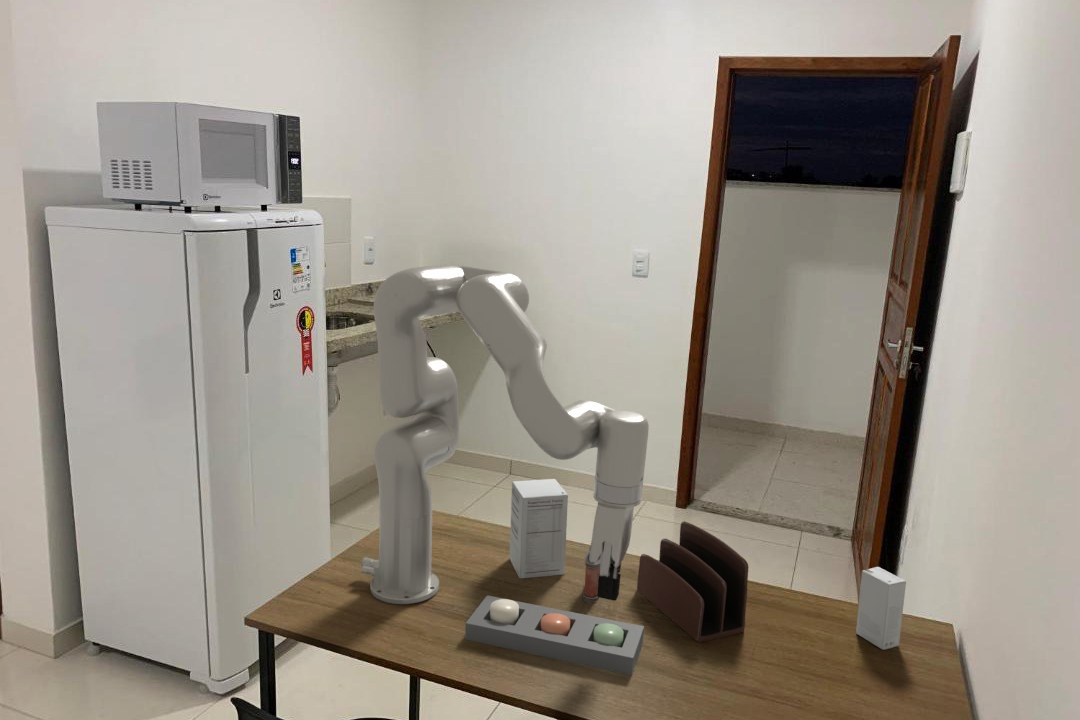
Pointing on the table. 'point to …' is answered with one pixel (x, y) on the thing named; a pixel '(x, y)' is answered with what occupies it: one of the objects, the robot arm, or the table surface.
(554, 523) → the supplement box
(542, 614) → the button panel
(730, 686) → the table surface
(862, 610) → the skincare box
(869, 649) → the table surface
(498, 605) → the cream button
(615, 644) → the sage button
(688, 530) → the letter holder
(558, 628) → the terracotta button
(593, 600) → the lighter
